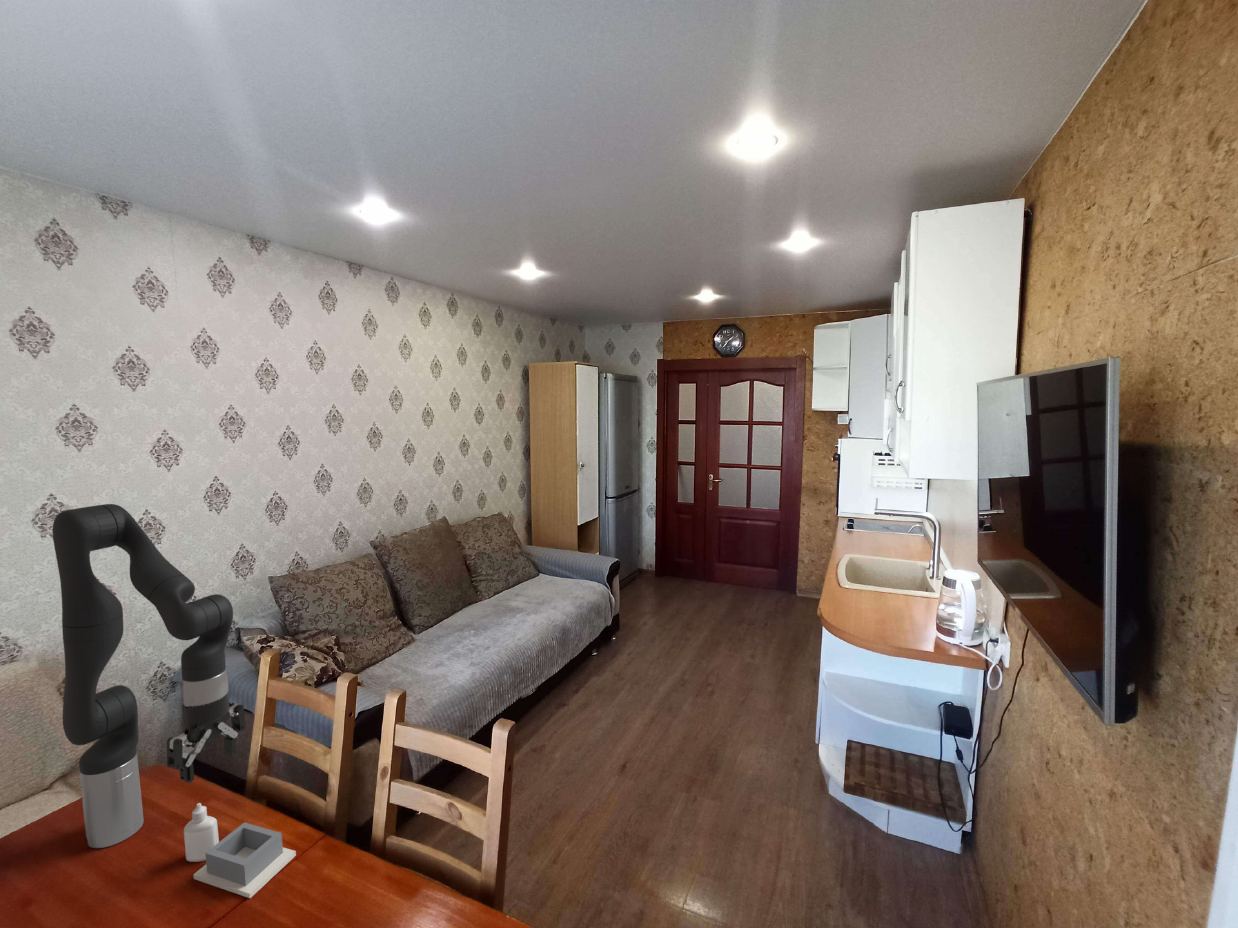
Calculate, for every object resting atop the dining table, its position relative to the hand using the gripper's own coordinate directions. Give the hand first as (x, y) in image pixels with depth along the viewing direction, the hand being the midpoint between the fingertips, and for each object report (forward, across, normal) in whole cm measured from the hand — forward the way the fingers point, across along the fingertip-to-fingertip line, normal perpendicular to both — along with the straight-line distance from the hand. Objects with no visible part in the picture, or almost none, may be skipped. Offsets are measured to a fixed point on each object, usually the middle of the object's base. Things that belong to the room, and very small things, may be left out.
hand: (209, 767), depth 111 cm
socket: (+21, -1, +8) cm, 23 cm away
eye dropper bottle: (+22, 0, -4) cm, 22 cm away
